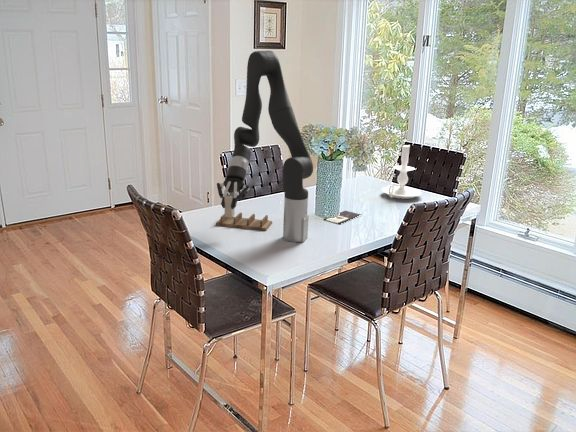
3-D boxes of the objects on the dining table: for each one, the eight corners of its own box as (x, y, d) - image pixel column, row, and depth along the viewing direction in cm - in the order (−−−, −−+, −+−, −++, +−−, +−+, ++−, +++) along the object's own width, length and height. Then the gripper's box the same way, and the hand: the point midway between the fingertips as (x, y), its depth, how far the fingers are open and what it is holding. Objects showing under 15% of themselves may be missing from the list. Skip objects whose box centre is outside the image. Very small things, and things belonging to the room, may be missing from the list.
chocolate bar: (361, 214, 243) (340, 223, 230) (361, 216, 243) (340, 225, 230) (345, 210, 248) (323, 218, 235) (345, 212, 249) (323, 220, 235)
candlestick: (369, 198, 273) (374, 144, 264) (392, 189, 291) (397, 139, 283) (406, 206, 261) (412, 150, 252) (427, 197, 279) (433, 144, 271)
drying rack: (272, 223, 227) (272, 215, 226) (266, 230, 218) (266, 222, 217) (223, 218, 232) (223, 210, 231) (215, 225, 223) (215, 216, 221)
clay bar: (234, 215, 207) (234, 195, 204) (231, 217, 204) (231, 197, 201) (227, 214, 207) (227, 194, 205) (224, 216, 204) (224, 196, 202)
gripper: (218, 163, 208) (207, 201, 201) (252, 166, 205) (243, 204, 198) (223, 173, 215) (213, 210, 207) (256, 176, 212) (247, 214, 204)
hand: (227, 207), depth 202 cm, fingers closed on clay bar, 3 cm apart
